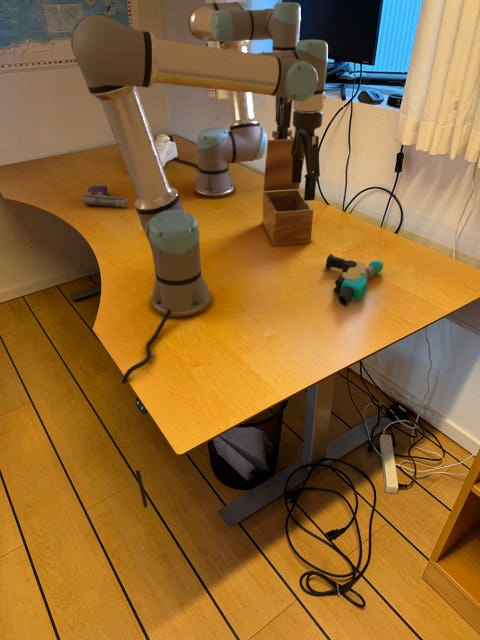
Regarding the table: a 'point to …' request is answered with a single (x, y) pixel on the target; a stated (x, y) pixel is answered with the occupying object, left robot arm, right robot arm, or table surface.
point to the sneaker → (166, 148)
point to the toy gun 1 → (102, 197)
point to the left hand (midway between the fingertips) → (302, 191)
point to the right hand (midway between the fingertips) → (281, 148)
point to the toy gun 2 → (352, 277)
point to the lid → (279, 164)
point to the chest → (287, 217)
